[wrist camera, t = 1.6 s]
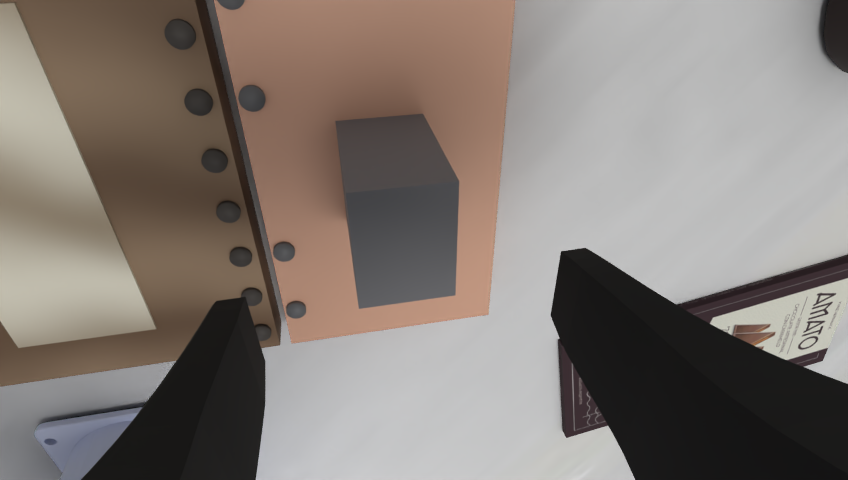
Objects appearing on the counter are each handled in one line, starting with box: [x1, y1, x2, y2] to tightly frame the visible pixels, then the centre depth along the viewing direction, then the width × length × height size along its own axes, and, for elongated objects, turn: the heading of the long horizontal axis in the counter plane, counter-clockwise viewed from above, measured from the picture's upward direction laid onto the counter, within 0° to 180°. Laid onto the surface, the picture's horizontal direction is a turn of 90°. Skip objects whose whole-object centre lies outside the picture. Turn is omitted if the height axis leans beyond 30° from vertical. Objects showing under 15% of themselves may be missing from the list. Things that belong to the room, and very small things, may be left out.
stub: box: [214, 0, 515, 343], centre depth 17 cm, size 16×9×6 cm, turn 0°
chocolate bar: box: [558, 255, 848, 438], centre depth 31 cm, size 9×1×18 cm
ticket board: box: [0, 0, 281, 386], centre depth 17 cm, size 16×12×2 cm
